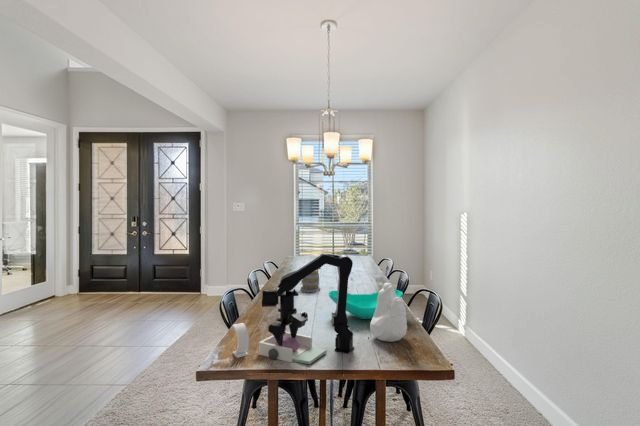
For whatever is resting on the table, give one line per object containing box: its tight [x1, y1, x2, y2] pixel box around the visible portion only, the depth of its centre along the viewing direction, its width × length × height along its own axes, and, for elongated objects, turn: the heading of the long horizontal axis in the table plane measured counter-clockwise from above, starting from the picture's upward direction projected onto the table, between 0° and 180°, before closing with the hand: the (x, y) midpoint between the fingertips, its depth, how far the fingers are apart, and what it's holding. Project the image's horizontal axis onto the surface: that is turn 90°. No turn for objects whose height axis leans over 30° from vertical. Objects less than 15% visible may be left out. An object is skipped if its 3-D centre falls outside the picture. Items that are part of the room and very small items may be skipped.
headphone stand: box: [232, 322, 250, 359], centre depth 160 cm, size 5×6×12 cm
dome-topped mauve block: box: [275, 336, 299, 352], centre depth 164 cm, size 11×4×4 cm, turn 63°
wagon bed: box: [258, 330, 313, 363], centre depth 164 cm, size 16×19×5 cm
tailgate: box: [292, 347, 328, 365], centre depth 158 cm, size 1×13×8 cm
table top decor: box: [328, 289, 404, 320], centre depth 210 cm, size 40×28×13 cm
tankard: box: [300, 267, 322, 293], centre depth 274 cm, size 20×13×15 cm, turn 147°
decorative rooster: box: [369, 282, 408, 343], centre depth 175 cm, size 25×16×25 cm, turn 1°
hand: (287, 343), depth 164 cm, fingers open, 9 cm apart
